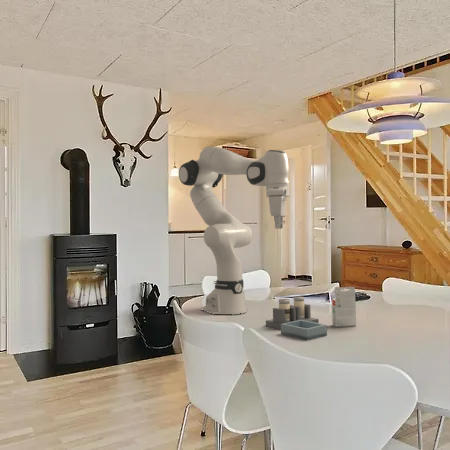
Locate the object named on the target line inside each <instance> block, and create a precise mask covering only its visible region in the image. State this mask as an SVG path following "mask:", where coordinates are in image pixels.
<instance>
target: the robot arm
mask: <svg viewBox="0 0 450 450" xmlns="http://www.w3.org/2000/svg"><path fill="white" fill-rule="evenodd" d="M289 173H290V167H289V158H288V154H287V153H286V151H283V150H275V149H269V150H267V151H265V154H264V155H262V157H260V158H259V159H257V160H253V159H249V158H247V157H245V156H244V155H240V154H239V153H236V152H234V151H232V150H229V149H227V148H223V147H220V146H219V147H218V146H207V147H204V148H203V149H202V150H201V152H200V154H199V157H198V159H197V160H194V159H191V160H189V161H188V162H185V163H183V164H181V165H180V167H179V170H178V179H179V181H180V182H181V184H183V185H185V186H189V187H190V186H191V190H190V192H189V195H190V199H191V201H192V203H193V206H194V208H195V210H196V211H197V212H198V214H199V216H200V217H201V218H202V221H203V222H204V223H205V224H206V225H207V226H208V227H206V228H205V230H204V232H203V240H204V241H203V242H204V243H205V245H206V247H208V248H209V249H210V250H211V252H212V253H213V256H214V259H215V265H216V278H217V279H216V280H214V281H213V284H214V289H213V290H212V291H211V292H210V293H209V294H208V295H207V296H206V297H205V305H204V306H201V307H200V309H203V310H205V311H208V312H211V313H213V314H232V315H241V314H244V313H247V312H246V311H248V306H247V304H246V296H245V295H246V294H245V291H244V290H243V289H244V278H243V263H242V261H241V259H239V258H238V257H237V255H236V253H235V250H234V249H239V248H242V247H245V246H248V245H249V244H250V243H251V242H252V240H253V231H252V229H251V227H250V226H248V224H245V223H243V222H241V221H240V220H238V218H237V217H235V216H234V215H232V214H231V213H230V212H229V211H228V210H227V209H226V208H225V206H224V205H223V203H222V202H221V201H220V199H219V198H218V197H217V195H216V194H215V192H214V190H213V188H216V187H217V186H218V184H219V183H220V182H221V181H222V178H223V177H224V176H225V175H226V176H233V175H235V176H237V175H238V176H239V175H241V176H242V175H244V176H245V175H246V179H247V181H248V182H249V184H250V185H253V186H255V187H258V186H259V187H265V192H266V193H265V194H266V198H268V203H269V212H270V215H271V216H272V217H273V221H274V229H276V230H277V229H279V230H280V229H283V226H284V224H283V223H284V217H286V202H287V198H288V197H290V196H291V195H290V193H291V192H290V182H289ZM192 186H193V187H192ZM246 309H247V310H246ZM205 311H204V312H205ZM208 312H207V313H208ZM240 313H241V314H240ZM213 314H212V315H213Z"/></svg>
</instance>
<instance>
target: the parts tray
mask: <svg viewBox="0 0 450 450" xmlns="http://www.w3.org/2000/svg"><path fill="white" fill-rule="evenodd" d="M280 334H281V335H284V336H287V337H288V336H289V337H292V338H297V339H301V340H304V341H309V340H314V339H317V338H321V337H326V336H327V335H328V325H327V324H324V323H315V322H310V321H304V320H297V321H292V322H288V323H283V324H281V329H280Z"/></svg>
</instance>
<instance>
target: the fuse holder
mask: <svg viewBox="0 0 450 450" xmlns="http://www.w3.org/2000/svg"><path fill="white" fill-rule="evenodd" d="M304 310H305V319H300V307H298V306H294V305H291V304H290V322H292V321H297V320H304V321H310V322H315V323H319V318H315V317H311V304H306V303H304ZM283 323H285V310H284V309H279V307H273V308H272V319H266V320H265V327H269V328H273V329H277V330H281V324H283ZM287 323H288V322H287Z"/></svg>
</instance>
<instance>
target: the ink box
mask: <svg viewBox="0 0 450 450" xmlns="http://www.w3.org/2000/svg"><path fill="white" fill-rule="evenodd" d="M334 289H335V292H334V293H335V298H331V302H332V303H331V304H332V305H331V308H332V311H331V313H332V317H331V318H332V320H331V321H332V326H333V327H336V328H343V327H344V328H345V327H356V326H357V311H356V309H357V308H356V307H357V305H356V287H355V286H342V287H341V286H336V287H334ZM345 289H346V290H345Z"/></svg>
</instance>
